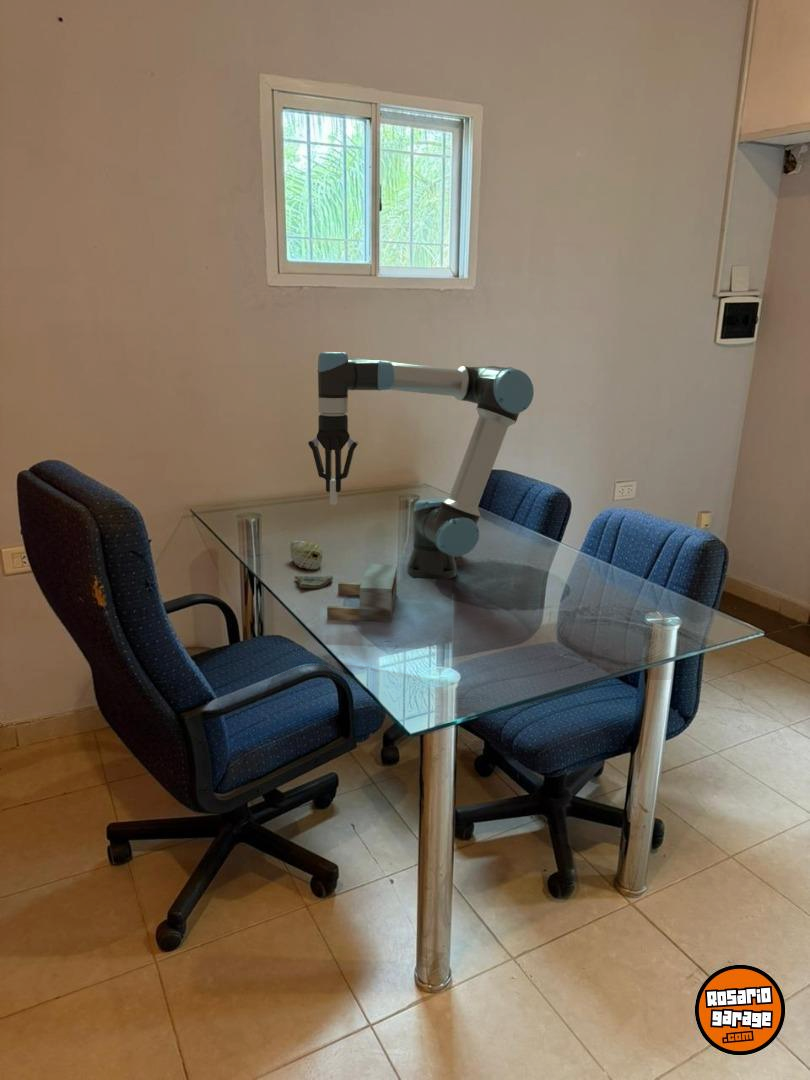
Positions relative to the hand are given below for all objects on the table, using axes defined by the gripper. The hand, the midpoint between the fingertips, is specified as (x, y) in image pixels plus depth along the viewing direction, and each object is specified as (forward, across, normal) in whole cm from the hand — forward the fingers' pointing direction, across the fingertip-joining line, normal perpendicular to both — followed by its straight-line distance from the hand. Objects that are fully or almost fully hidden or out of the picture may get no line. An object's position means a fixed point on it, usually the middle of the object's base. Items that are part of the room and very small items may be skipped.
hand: (333, 503), depth 198 cm
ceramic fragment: (+24, +5, +1) cm, 25 cm away
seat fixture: (+24, -8, +11) cm, 28 cm away
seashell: (+25, +10, -20) cm, 34 cm away
